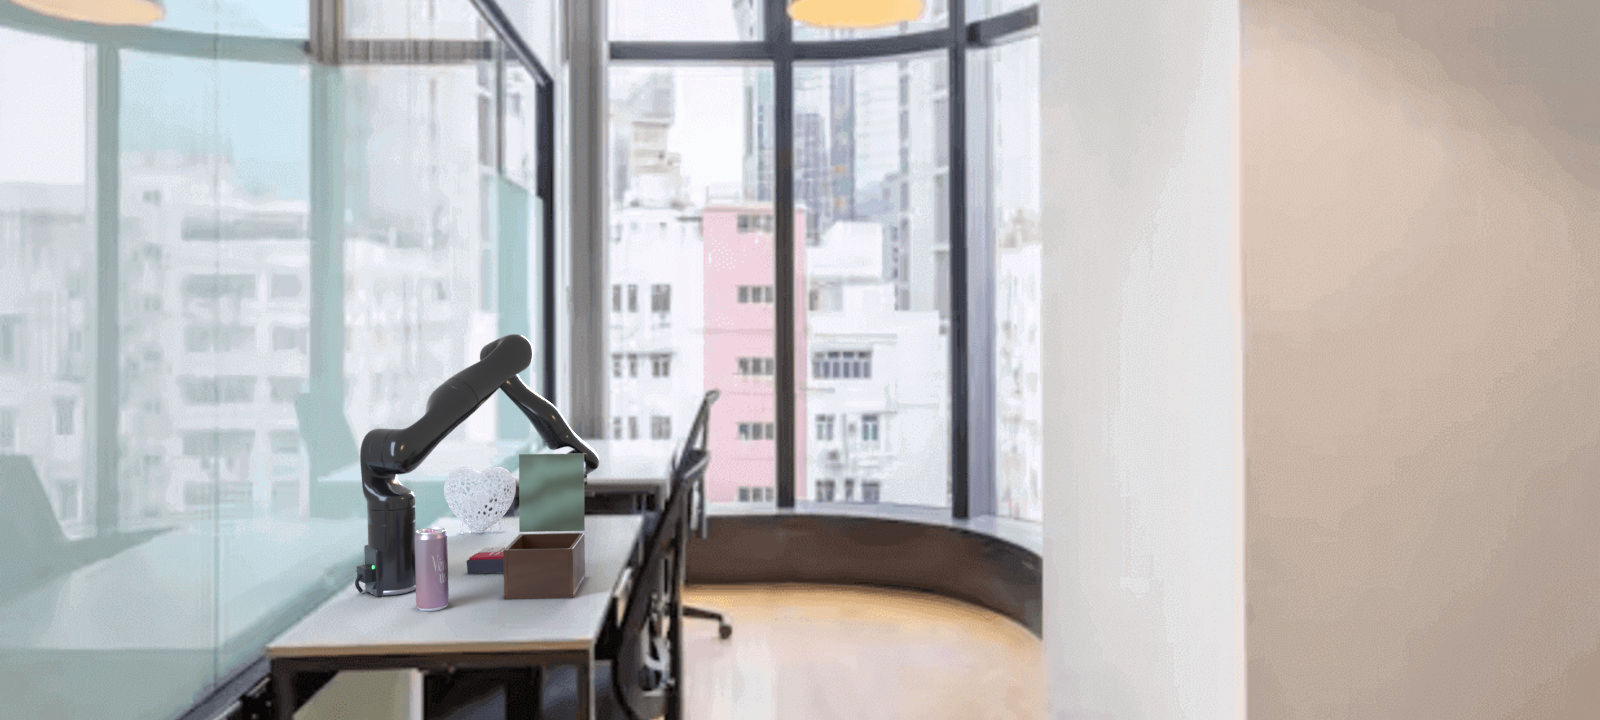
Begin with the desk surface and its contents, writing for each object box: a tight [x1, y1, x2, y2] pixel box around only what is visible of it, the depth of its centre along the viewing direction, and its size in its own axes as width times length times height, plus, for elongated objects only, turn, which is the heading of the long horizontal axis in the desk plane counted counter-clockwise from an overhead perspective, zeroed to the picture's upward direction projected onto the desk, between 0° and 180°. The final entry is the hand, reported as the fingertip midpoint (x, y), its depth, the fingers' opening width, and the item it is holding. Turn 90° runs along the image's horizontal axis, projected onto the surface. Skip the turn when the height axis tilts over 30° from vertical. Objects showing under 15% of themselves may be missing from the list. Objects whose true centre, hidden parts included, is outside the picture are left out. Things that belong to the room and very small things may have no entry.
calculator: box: [466, 546, 506, 575], centre depth 237 cm, size 11×4×15 cm
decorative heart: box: [443, 466, 517, 535], centre depth 275 cm, size 18×11×17 cm, turn 94°
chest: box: [503, 532, 586, 600], centre depth 220 cm, size 16×14×10 cm
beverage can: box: [415, 527, 450, 612], centre depth 206 cm, size 6×6×15 cm
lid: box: [518, 453, 586, 533], centre depth 228 cm, size 16×14×1 cm
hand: (552, 486), depth 228 cm, fingers closed
